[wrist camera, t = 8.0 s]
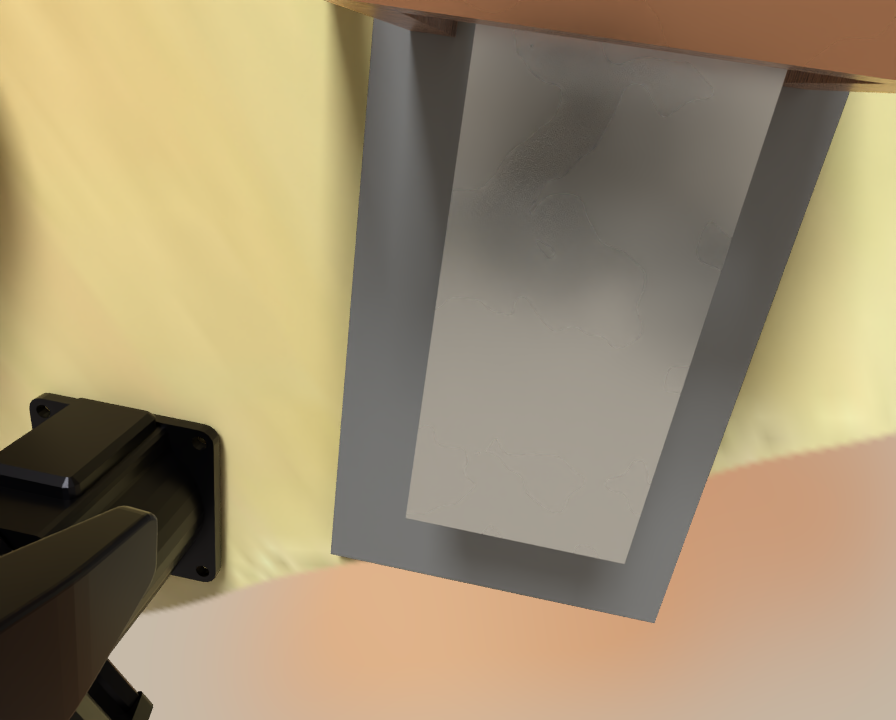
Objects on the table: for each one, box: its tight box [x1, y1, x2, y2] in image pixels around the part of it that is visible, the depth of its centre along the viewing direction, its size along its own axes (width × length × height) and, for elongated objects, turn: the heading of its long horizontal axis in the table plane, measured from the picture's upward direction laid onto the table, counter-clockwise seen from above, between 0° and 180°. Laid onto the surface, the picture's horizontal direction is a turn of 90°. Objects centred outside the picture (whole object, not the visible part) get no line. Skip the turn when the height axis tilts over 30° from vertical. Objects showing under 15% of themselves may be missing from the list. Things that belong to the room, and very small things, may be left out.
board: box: [331, 18, 850, 623], centre depth 17 cm, size 22×11×1 cm, turn 171°
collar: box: [325, 0, 896, 93], centre depth 11 cm, size 1×9×7 cm, turn 82°
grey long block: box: [406, 24, 788, 564], centre depth 14 cm, size 15×5×5 cm, turn 171°
